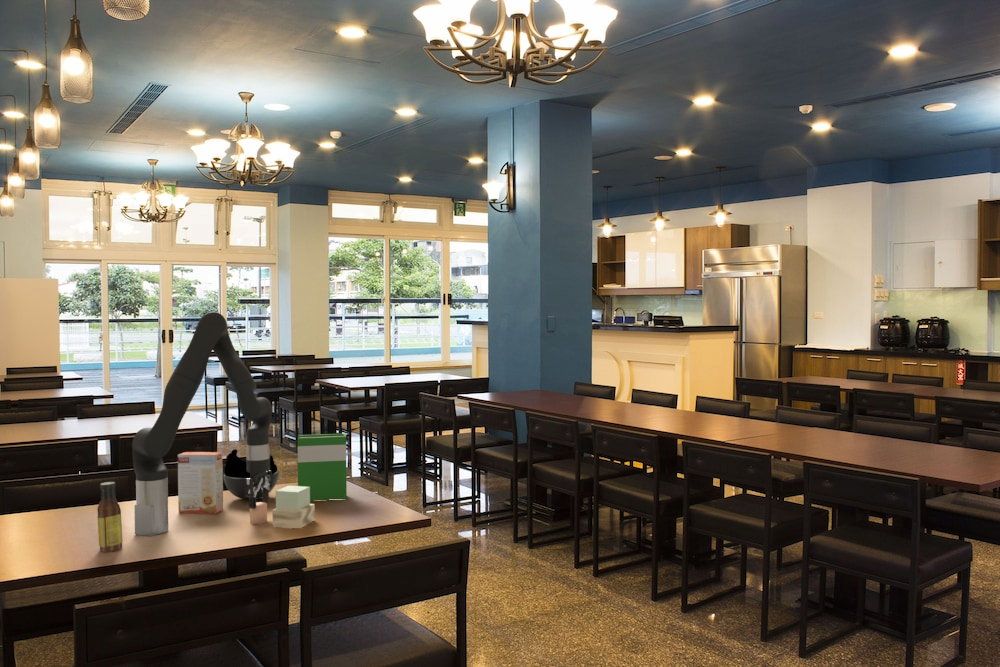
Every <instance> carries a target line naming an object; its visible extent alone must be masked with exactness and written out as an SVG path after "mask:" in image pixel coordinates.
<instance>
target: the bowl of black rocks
mask: <svg viewBox="0 0 1000 667" xmlns="http://www.w3.org/2000/svg"><path fill="white" fill-rule="evenodd" d="M225 459H226V460H227V461H226V462H225V465H224V473H223V483H224V485H225V486H226V489H227V490H228V492H230V493H231V494H232V495H233V496H235V497H236V498H238V499H241V500H246V501H249V497H245V479H246V478H250V475H251V474H250V473H249V472H247V462H246V460H242V459H241V458H240V457H239V456H238V449H233V450H231V452H230V453H229V454H227V455H226V458H225ZM269 471H272V488H270V490H269V493H270V492H271V491H272V490H273V489H274V488H275V487H276V485H277V483H278V479H279V476H280V471H279V470H278V466H277V464H276V463H275V461H274V456H272V455H271V454H270V470H269ZM268 482H269V481H268ZM253 488H254V487H253ZM262 491H263V490H262V489H261V488H260V489H259V491H258V492H257V494H256V500H259V499H262ZM248 492H249V489H248ZM253 494H254V491H253Z"/></svg>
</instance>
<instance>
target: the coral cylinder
mask: <svg viewBox="0 0 1000 667" xmlns="http://www.w3.org/2000/svg"><path fill="white" fill-rule="evenodd" d="M265 522H266V523H267V522H268V502H262V501H259V502H258V501H256V508H255V509H251V508H249V523H250V524H251V523H253V524H252V525H261V524H260V523H263V524H265Z"/></svg>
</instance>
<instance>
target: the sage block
mask: <svg viewBox="0 0 1000 667" xmlns="http://www.w3.org/2000/svg"><path fill="white" fill-rule="evenodd" d="M310 504H311V502H310V487H304V486H298V485H286V486H284V487H282V488H279V489H277V490H275V508H276V509H283V510H300V509H302V508H304V507H306V506H308V505H310Z"/></svg>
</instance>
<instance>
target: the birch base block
mask: <svg viewBox="0 0 1000 667" xmlns="http://www.w3.org/2000/svg"><path fill="white" fill-rule="evenodd" d="M315 508H316V507H315V503H310V505H308V506H306V507H304V508H302V509H300V510H283V509H276V507H275V508H274V509H272V528H276V527H282V528H281V529H292V528H302V527H304V526H305V527H307V526H308V525H307V524H309V523H310V524H312V523H313V522H312V521H314V520H315V521H316V515H315V514H316V511H315V510H316V509H315ZM315 521H314V522H315ZM311 522H312V523H311ZM310 524H309V525H310ZM306 525H307V526H306ZM305 527H304V528H305ZM302 529H303V528H302Z"/></svg>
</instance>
